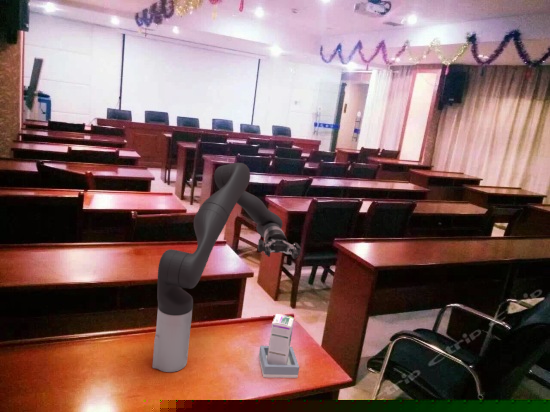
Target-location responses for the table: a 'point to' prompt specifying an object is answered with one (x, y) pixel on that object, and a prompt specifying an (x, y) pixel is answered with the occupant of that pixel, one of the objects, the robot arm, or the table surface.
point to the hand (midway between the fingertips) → (282, 254)
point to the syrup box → (280, 340)
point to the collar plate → (278, 370)
